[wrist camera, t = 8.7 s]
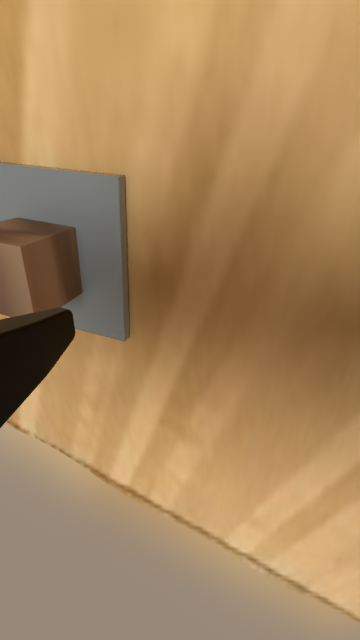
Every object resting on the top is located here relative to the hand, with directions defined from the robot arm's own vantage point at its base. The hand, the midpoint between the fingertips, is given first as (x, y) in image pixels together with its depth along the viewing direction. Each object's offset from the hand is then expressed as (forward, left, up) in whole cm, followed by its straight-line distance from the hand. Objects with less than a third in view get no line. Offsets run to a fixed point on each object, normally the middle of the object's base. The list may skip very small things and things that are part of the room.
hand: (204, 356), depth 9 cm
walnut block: (+15, +3, -11) cm, 19 cm away
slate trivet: (+15, +3, -12) cm, 19 cm away
